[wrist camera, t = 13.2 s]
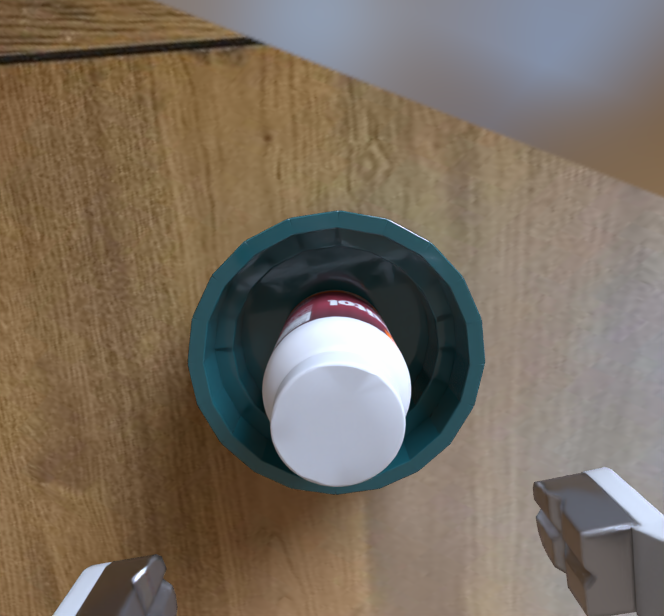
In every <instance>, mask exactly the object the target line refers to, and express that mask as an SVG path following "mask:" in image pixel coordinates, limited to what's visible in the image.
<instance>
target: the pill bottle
mask: <svg viewBox="0 0 664 616" xmlns="http://www.w3.org/2000/svg"><path fill="white" fill-rule="evenodd" d="M262 395H263V403H264V408H265V411H266V414H267V417H268V419H269V421H270V431H271V438H272V441H273V444H274V447H275V449H276V452H277V453H278V455H279V457H280V458H281V460H282V461H283V462H284V463H285V465H286V466H287V467H288V468H289V469H290V470H292V471H293V472H294V473H295V474H297V475H298V476H300V477H301V478H303V479H305V480H307V481H310V482H313V483H316V484H319V485H323V486H331V487H343V486H350V485H355V484H358V483H361V482H364V481H366V480H368V479H371V478H372V477H374V476H376V475H377V474H379V473H380V472H381V471H383V470H384V469H385V468H386V467H387V466H388V465H389V464H390V463H391V462H392V460H393V459H394V458H395V456H396V455H397V453H398V451H399V449H400V447H401V445H402V442H403V438H404V434H405V426H406V421H405V417H406V414H407V412H408V409H409V404H410V398H411V381H410V375H409V371H408V368H407V365H406V362H405V360H404V358H403V356H402V354H401V352H400V350H399V349H398V347H397V345H396V343H395V342H394V340H393V338H392V336H391V334H390V332H389V331H388V329H387V327H386V325H385V323H384V321H383V319H382V317H381V316H380V314H379V313H378V311H377V310H376V309H375V308H374V307H373V306H372V305H371V304H370V303H369V302H368V301H367V300H365V299H364V298H362V297H360V296H359V295H356V294H353V293H351V292H347V291H342V290H327V291H322V292H318V293H315V294H313V295H311V296H309V297H307V298H306V299H304V300H303V301H301V302H300V303H299V304H298V305H297V306H296V307H295V308H294V309H293V311H292V312H291V313H290V315H289V316H288V318H287V320H286V322H285V324H284V327H283V329H282V331H281V333H280V336H279V338H278V340H277V343H276V345H275V347H274V350H273V352H272V354H271V356H270V359H269V361H268V364H267V367H266V370H265V373H264V377H263V386H262Z"/></svg>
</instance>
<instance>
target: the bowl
mask: <svg viewBox="0 0 664 616" xmlns="http://www.w3.org/2000/svg"><path fill="white" fill-rule="evenodd" d="M327 290H342V291H347V292H351V293H353V294H356V295H359V296H360V297H362V298H364V299H365V300H367V301H368V302H369V303H370V304H371V305H372V306H373V307H374V308H375V309H376V310H377V311H378V313H379V314H380V316H381V317H382V319H383V321H384V323H385V325H386V327H387V329H388V331H389V332H390V334H391V336H392V338H393V340H394V342H395V343H396V345H397V347H398V349H399V350H400V352H401V354H402V356H403V358H404V360H405V362H406V365H407V368H408V371H409V375H410V381H411V398H410V404H409V409H408V412H407V414H406V417H405V421H406V426H405V434H404V438H403V442H402V445H401V447H400V449H399V451H398V453H397V455H396V456H395V458H394V459H393V460H392V462H391V463H390V464H389V465H388V466H387V467H386V468H385V469H384V470H383V471H381V472H380V473H379V474H377V475H376V476H374V477H372V478H371V479H368V480H366V481H364V482H361V483H358V484H355V485H350V486H343V487H331V486H323V485H319V484H316V483H313V482H310V481H307V480H305V479H303V478H301V477H300V476H298V475H297V474H295V473H294V472H293V471H292V470H290V469H289V468H288V467H287V466H286V465H285V463H284V462H283V461H282V460H281V458H280V457H279V455H278V453H277V452H276V449H275V447H274V444H273V441H272V438H271V431H270V421H269V419H268V417H267V414H266V411H265V408H264V403H263V395H262V386H263V377H264V373H265V370H266V367H267V364H268V361H269V359H270V356H271V354H272V352H273V350H274V347H275V345H276V343H277V340H278V338H279V336H280V333H281V331H282V329H283V327H284V324H285V322H286V320H287V318H288V316H289V315H290V313H291V312H292V311H293V309H294V308H295V307H296V306H297V305H298V304H299V303H300V302H301V301H303V300H304V299H306V298H307V297H309V296H311V295H313V294H315V293H318V292H322V291H327ZM484 364H485V354H484V341H483V328H482V320H481V316H480V314H479V312H478V309H477V307H476V305H475V303H474V300H473V298H472V296H471V293H470V291H469V289H468V287H467V284H466V282H465V280H464V278H463V277H462V275H461V274H460V273H459V272H458V271H457V270H456V269H455V267H454V266H453V265H452V264H451V263H450V262H449V261H448V260H447V259H446V258H445V257H444V256H443V254H442V253H441V252H440V251H439V250H438V249H437V248H436V247H435V246H434V245H433V244H432V243H430V241H428V240H426V239H424V238H423V237H421V236H419V235H417V234H415V233H413V232H412V231H410V230H408V229H406V228H404V227H402V226H400V225H399V224H397V223H395V222H393V221H391V220H389V219H386V218H381V217H375V216H369V215H363V214H357V213H351V212H345V211H331V212H325V213H318V214H312V215H305V216H299V217H292V218H289V219H286V220H284V221H282V222H280V223H278V224H276V225H274V226H272V227H271V228H269V229H267V230H265V231H263V232H261V233H259V234H257V235H255V236H253V237H251V238H249V239H247V240H246V241H244V242H243V243H242V244H241V245H240V246H239V247H238V248H237V249H236V250H235V251H234V252H233V254H232V255H231V256H230V257H229V258H228V259H227V260H226V261H225V262H224V263H223V264H222V265H221V266H220V267H219V268H218V269H217V270H216V271H215V272H214V273H213V274H212V276H211V278H210V280H209V282H208V284H207V286H206V288H205V291H204V293H203V295H202V297H201V299H200V301H199V304H198V306H197V308H196V310H195V312H194V314H193V318H192V321H191V332H190V342H189V352H188V368H189V372H190V376H191V380H192V385H193V389H194V393H195V397H196V402H197V405H198V407H199V409H200V410H201V412H202V414H203V415H204V417H205V418H206V420H207V422H208V423H209V425H210V427H211V428H212V430H213V431H214V433H215V435H216V436H217V438H218V440H219V441H220V442H221V443H222V445H224V446H225V447H226V448H227V449H228V450H229V451H231V452H232V453H233V454H234V455H235V456H236V457H237V458H239V459H240V460H241V461H242V462H243V463H244V464H246V465H247V466H248V467H249V468H250V469H251V470H254V472H256V473H258V474H260V475H262V476H265V477H267V478H269V479H271V480H274V481H276V482H278V483H280V484H282V485H285V486H287V487H289V488H291V489H297V490H305V491H312V492H319V493H326V494H333V495H335V494H336V495H339V494H346V493H353V492H360V491H367V490H374V489H378V488H379V489H380V488H382V487H384V486H387V485H389V484H391V483H393V482H396V481H398V480H400V479H402V478H405V477H407V476H409V475H411V474H414V473H416V472H418V471H419V470H420V469H422V468H423V467H424V466H425V465H426V464H427V463H429V462H430V461H431V460H432V459H433V458H434V457H436V456H437V455H438V454H439V453H440V452H442V451H443V450H444V449H445V448H446V447H447V446H449V445H450V444H451V442H452V440H453V439H454V437H455V436H456V434H457V433H458V431H459V429H460V428H461V426H462V425H463V423H464V421H465V420H466V418H467V417H468V415H469V414H470V412H471V410H472V409H473V406H474V405H475V401H476V397H477V393H478V389H479V385H480V381H481V377H482V373H483V369H484Z"/></svg>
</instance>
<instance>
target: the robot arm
mask: <svg viewBox="0 0 664 616" xmlns="http://www.w3.org/2000/svg"><path fill="white" fill-rule="evenodd" d="M533 495H534V500H535V501H536V503H537V504H538V505H539V507H540V508H541V509H540V511H539V513H538V515H537V516H536V521H537V527H538V532H539V536H540V539H541V542H542V545H543V547H544V549H545V551H546V553H547V555H548V557H549V559H550V560H551V562H552V563H553V565H554V566H555V567H556V568H557V569H559V570H561V571H563V572H564V573H566V576H567V585H568V588H569V589H570V591H571V592H572V594H573V596H574V597H575V599H576V600H577V602H578V603H579V605H580V606H581V608H582V609H583V611H584V612H585V614H586V615H587V616H611V615H618V614H625V613H631V612H637V615H638V616H664V515H663V514H662V513H660V512H659V511H658V510H657V509H656V508H655V507H654V506H652V505H651V504H650V503H649V502H648V501H647V500H646V499H645V498H643V497H642V496H641V495H640V494H639V493H638V492H637V491H635V490H634V489H633V488H632V487H631V486H630V485H629V484H627V483H626V482H625V481H624V480H623V479H622V478H621V477H619V476H618V475H617V474H616V473H615V472H614V471H613V470H611V469H609V468H607V467H602V468H598V469H593V470H588V471H584V472H581V473H578V474H573V475H567V476H562V477H557V478H552V479H547V480H542V481H537V482H534V485H533ZM166 569H167V568H166V566H165V563H164V561H163V558H162V556H159V555H156V554H155V555H149V556H143V557H137V558H131V559H125V560H119V561H113V562H109V563H103V564H97V565H92V566H90V567H88V568H86V569H85V570H83V572H82V573H81V575H80V576H79V578H78V579H77V581H76V582H75V584H74V585H73V587H72V588H71V589H70V591H69V592H68V594H67V595H66V597H65V598H64V600H63V601H62V603H61V604H60V606H59V607H58V608H57V610H56V611H55V613H54V614H53V616H177V600H176V594H175V591H174V588H173V586H172V585H171V584H170V583H168V582H167V581H165V580H164V579H163V577H164V574H165V572H166Z"/></svg>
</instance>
